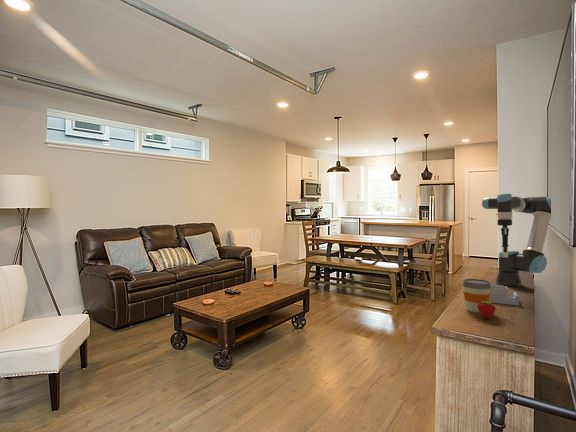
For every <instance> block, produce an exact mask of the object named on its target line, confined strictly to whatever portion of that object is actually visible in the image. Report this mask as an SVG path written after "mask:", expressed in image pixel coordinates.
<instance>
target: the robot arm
mask: <svg viewBox="0 0 576 432" xmlns="http://www.w3.org/2000/svg"><path fill="white" fill-rule="evenodd" d="M551 197H552V196H549V195H548V196H529V197H520V196H513V195H512V193H498V194H497V197H495V196H494V197H484V198H483V199H482V201H481V206H482V208H483V209H486V210H497V213H496V216H497V226H500V227H501V228H500V231H501V239H502V241H501V242H502V243H501V246H500V247H502V251H500V252H499V253H498V273H497V275H496V278H495V284H496V283H497V284H496V285H502V286H504V285H505V286H506V287H515V286H516V287H522V286H521V285H523V282H522V280H521V277H520V272H526V273H532V274H541V273H542V272H543V271H545V269H546V268H547V264H548V259H547V257H546V256H545V254H544V252H543V249H544V247H545V245H544V244H545V241H546V236H547V233H548V228H549V224H550V221H551V219H552V218H551ZM513 212H517V213H521V214H532V216H533V217H534V218H533V221H532V225H531V229H530V233H529V236H528V241H527V245H526V248H524V249H523V250H522V253H521V252H519V250H509V233H510V228H509V227H508V226H512V225H513V219H512V218H513Z"/></svg>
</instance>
